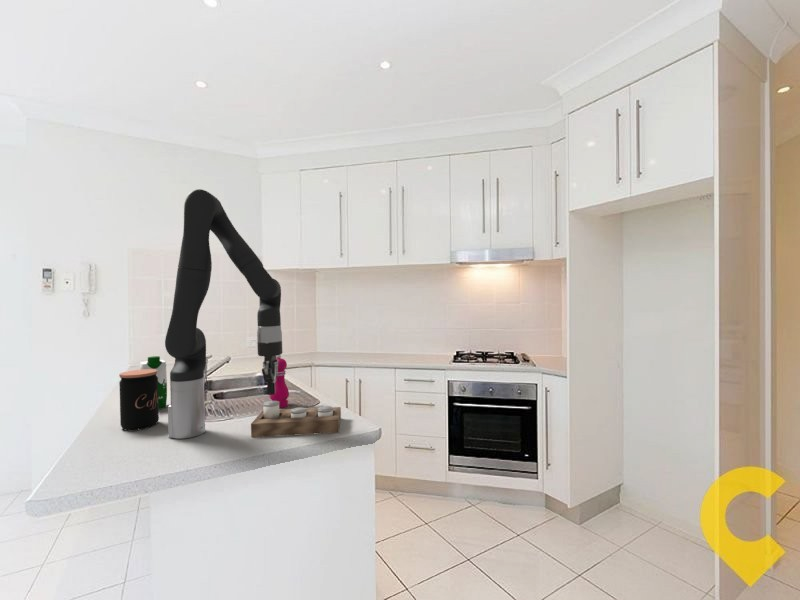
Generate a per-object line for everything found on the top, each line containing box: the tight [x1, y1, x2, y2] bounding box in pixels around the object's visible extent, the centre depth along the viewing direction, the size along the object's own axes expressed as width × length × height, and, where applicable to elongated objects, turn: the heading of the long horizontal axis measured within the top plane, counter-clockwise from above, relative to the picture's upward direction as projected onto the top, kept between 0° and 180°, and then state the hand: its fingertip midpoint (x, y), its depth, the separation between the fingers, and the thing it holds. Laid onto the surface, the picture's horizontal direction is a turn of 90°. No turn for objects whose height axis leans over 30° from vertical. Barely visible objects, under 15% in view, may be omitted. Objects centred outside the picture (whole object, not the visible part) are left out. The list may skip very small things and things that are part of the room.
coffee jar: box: [118, 369, 160, 431], centre depth 131 cm, size 11×11×18 cm
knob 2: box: [317, 405, 334, 417], centre depth 128 cm, size 5×5×5 cm
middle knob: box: [290, 407, 307, 418], centre depth 127 cm, size 5×5×5 cm
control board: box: [250, 406, 342, 438], centre depth 127 cm, size 26×14×4 cm, turn 96°
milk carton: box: [139, 355, 168, 410], centre depth 154 cm, size 9×9×20 cm
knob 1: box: [262, 400, 280, 419], centre depth 126 cm, size 5×5×5 cm
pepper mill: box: [269, 354, 290, 409], centre depth 152 cm, size 7×7×20 cm
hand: (271, 394), depth 126 cm, fingers closed
